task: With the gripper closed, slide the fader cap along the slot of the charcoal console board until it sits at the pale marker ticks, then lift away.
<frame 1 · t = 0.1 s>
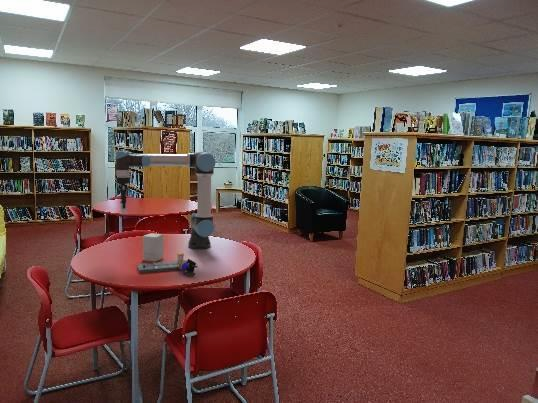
hand: (123, 211, 248), 28 cm above the table, fingers open, 13 cm apart
character figurine: (187, 273, 225), on the table
console: (164, 268, 232), on the table
fader: (180, 258, 235), point 5 cm above the table, slide at 0.0 cm
supplement box: (153, 259, 249), on the table
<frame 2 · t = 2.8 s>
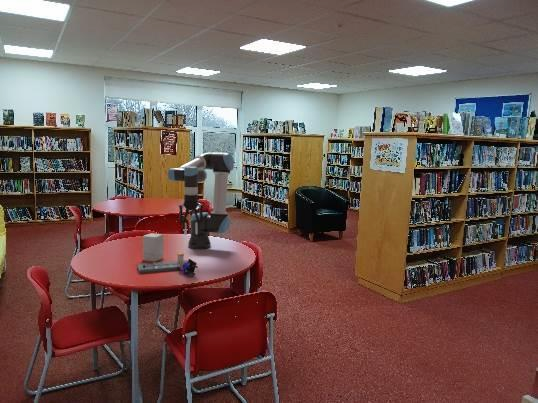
hand: (190, 234, 235), 19 cm above the table, fingers open, 6 cm apart
nothing on the table moved.
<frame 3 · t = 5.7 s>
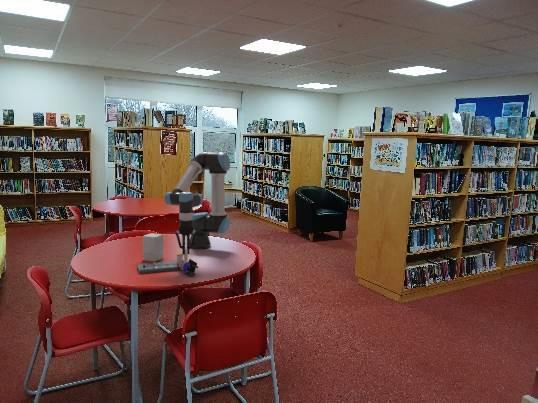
hand: (185, 259, 236), 4 cm above the table, fingers closed
fader: (179, 258, 235), point 5 cm above the table, slide at 0.5 cm, touching gripper
everything else where it was.
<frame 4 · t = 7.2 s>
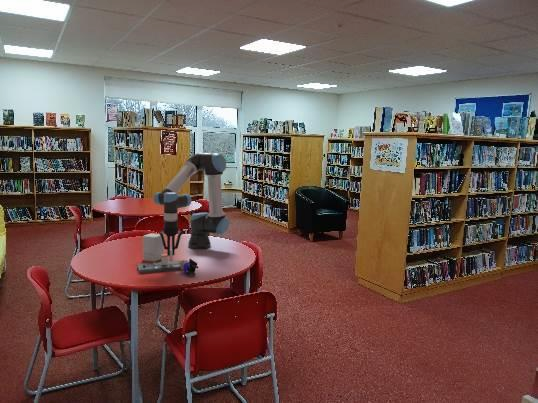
hand: (171, 260, 233), 4 cm above the table, fingers closed
fader: (164, 259, 232), point 5 cm above the table, slide at 8.9 cm, touching gripper
everything else where it was.
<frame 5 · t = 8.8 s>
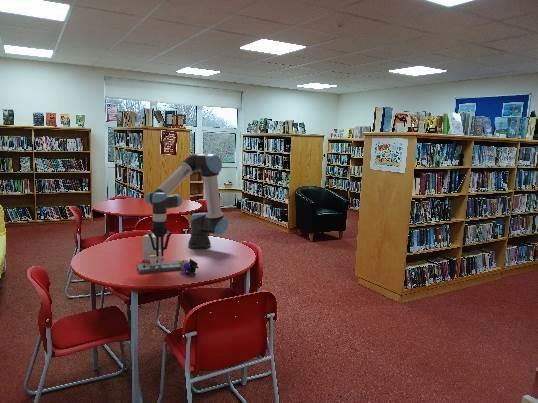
hand: (159, 261, 231), 4 cm above the table, fingers closed
fader: (153, 260, 229), point 5 cm above the table, slide at 15.0 cm, touching gripper
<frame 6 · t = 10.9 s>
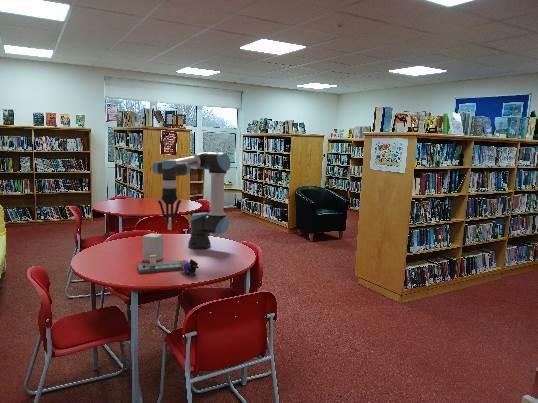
hand: (169, 229, 230), 22 cm above the table, fingers closed
fader: (153, 260, 229), point 5 cm above the table, slide at 15.1 cm
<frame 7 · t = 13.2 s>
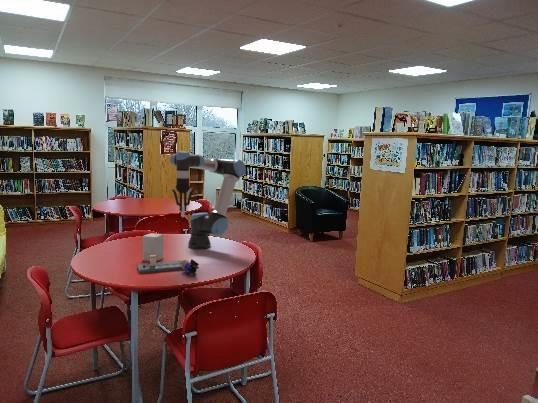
hand: (182, 216, 247), 26 cm above the table, fingers closed
at the end: fader slide at 15.1 cm; fader touching nothing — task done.
